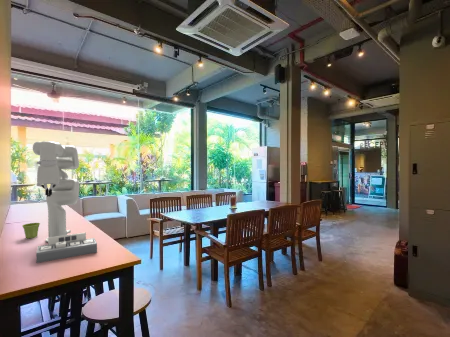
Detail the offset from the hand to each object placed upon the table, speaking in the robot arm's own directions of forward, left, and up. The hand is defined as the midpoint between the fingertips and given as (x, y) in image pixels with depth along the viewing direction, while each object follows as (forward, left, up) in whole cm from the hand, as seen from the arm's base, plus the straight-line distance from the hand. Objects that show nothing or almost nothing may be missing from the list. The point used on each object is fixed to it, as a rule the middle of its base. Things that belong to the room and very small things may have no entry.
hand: (48, 196), depth 139 cm
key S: (+4, +11, -28) cm, 30 cm away
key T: (-4, +21, -29) cm, 36 cm away
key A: (+9, +6, -29) cm, 31 cm away
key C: (0, +16, -29) cm, 33 cm away
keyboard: (+2, +13, -31) cm, 34 cm away
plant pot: (-22, -33, -31) cm, 51 cm away
